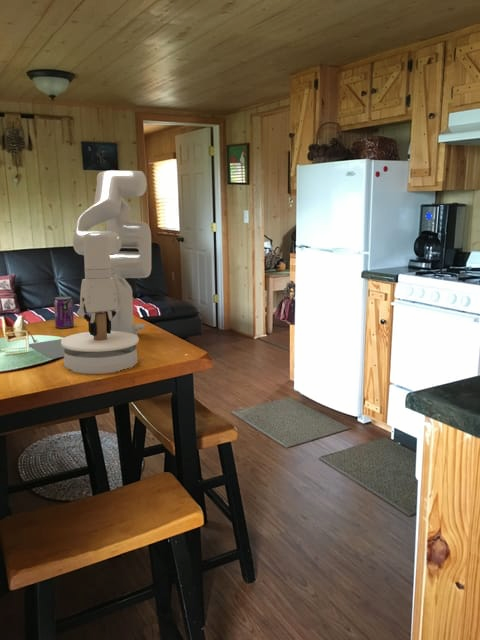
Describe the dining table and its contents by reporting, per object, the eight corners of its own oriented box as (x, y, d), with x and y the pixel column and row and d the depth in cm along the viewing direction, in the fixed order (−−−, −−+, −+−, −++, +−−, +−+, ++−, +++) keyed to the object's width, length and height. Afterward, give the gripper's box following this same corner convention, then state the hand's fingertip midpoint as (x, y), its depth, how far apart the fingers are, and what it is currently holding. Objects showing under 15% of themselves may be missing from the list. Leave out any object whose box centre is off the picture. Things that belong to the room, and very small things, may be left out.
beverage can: (70, 329, 215) (69, 299, 213) (52, 328, 216) (51, 298, 213) (76, 325, 222) (74, 296, 220) (59, 325, 222) (57, 296, 220)
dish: (149, 367, 165) (148, 351, 164) (75, 379, 154) (74, 361, 153) (123, 351, 184) (122, 337, 183) (55, 360, 172) (54, 345, 171)
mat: (87, 336, 203) (87, 335, 203) (117, 348, 186) (117, 347, 186) (25, 346, 188) (25, 344, 188) (52, 360, 171) (51, 358, 171)
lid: (116, 330, 183) (115, 304, 181) (152, 343, 166) (152, 314, 164) (48, 340, 168) (47, 312, 167) (81, 356, 151) (80, 324, 150)
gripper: (117, 271, 171) (118, 328, 175) (65, 275, 160) (68, 335, 164) (129, 273, 166) (130, 332, 169) (76, 277, 155) (79, 340, 159)
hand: (100, 333), depth 167 cm, fingers closed on lid, 4 cm apart
